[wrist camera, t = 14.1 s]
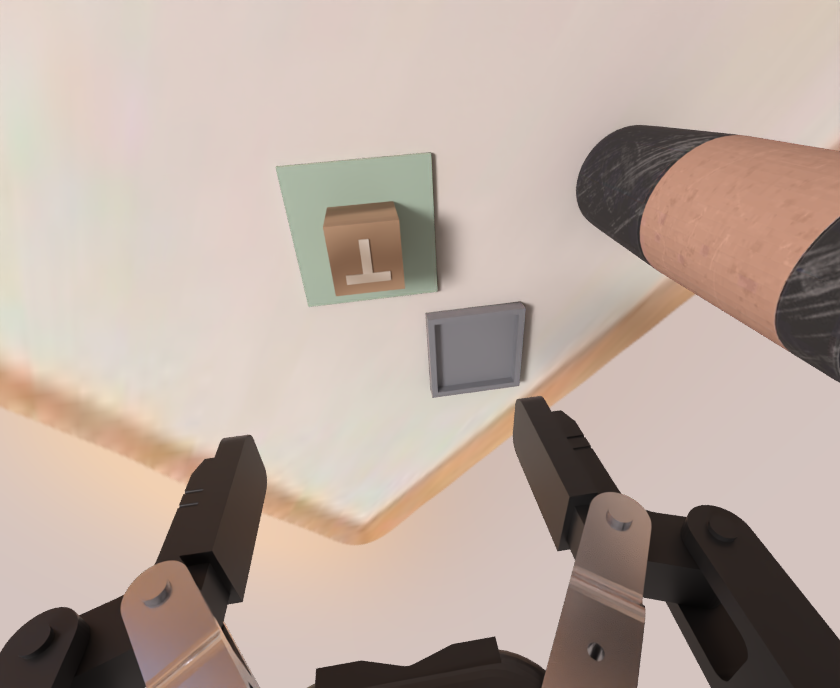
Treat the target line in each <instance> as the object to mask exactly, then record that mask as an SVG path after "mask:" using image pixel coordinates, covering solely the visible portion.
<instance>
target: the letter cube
mask: <svg viewBox="0 0 840 688" xmlns="http://www.w3.org/2000/svg"><path fill="white" fill-rule="evenodd" d="M323 231H324V236H325V242H326V247H327V252H328V257H329V263H330V268H331V273H332V279H333V284H334V289H335V294H336V296H344V295H353V294H362V293H371V292H380V291H389V290H397V289H405V281H404V270H403V258H402V247H401V235H400V224H399V218H398V215H397V211H396V208H395V205H394V202H393V201H388V202H378V203H367V204H357V205H347V206H336V207H327V210H326V214H325V219H324V224H323Z"/></svg>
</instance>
